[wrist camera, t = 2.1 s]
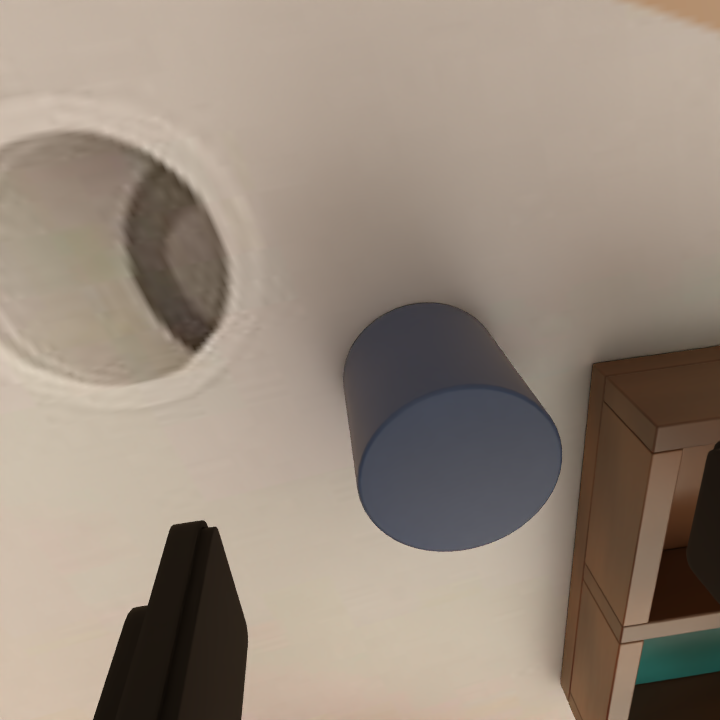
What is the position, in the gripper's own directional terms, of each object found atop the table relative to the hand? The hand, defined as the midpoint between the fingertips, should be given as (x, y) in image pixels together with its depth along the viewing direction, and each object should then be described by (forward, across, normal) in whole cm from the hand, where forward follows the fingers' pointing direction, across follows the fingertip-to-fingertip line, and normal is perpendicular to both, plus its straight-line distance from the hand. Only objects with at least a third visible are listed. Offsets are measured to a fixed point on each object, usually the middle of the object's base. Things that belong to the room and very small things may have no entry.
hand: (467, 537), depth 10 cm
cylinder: (+6, 0, 0) cm, 6 cm away
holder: (+6, -9, +8) cm, 13 cm away
